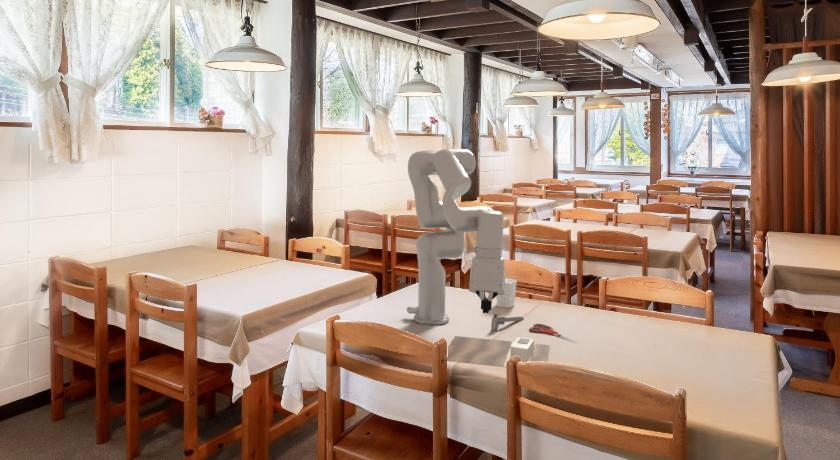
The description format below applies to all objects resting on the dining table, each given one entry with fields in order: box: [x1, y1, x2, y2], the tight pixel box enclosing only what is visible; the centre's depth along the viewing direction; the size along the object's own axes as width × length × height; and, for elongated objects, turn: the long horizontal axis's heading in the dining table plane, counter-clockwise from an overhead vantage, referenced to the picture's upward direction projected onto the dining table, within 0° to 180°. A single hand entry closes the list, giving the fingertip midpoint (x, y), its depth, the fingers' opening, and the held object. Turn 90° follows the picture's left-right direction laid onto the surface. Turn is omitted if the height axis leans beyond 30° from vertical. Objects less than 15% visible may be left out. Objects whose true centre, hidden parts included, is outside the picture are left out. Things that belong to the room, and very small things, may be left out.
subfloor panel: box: [446, 335, 550, 368], centre depth 176 cm, size 30×22×1 cm
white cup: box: [495, 277, 517, 309], centre depth 228 cm, size 8×8×10 cm
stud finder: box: [510, 337, 535, 362], centre depth 173 cm, size 5×9×4 cm, turn 158°
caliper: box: [490, 313, 525, 332], centre depth 204 cm, size 20×1×6 cm, turn 140°
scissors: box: [528, 323, 579, 345], centre depth 194 cm, size 8×21×2 cm, turn 45°
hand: (485, 311), depth 176 cm, fingers closed
